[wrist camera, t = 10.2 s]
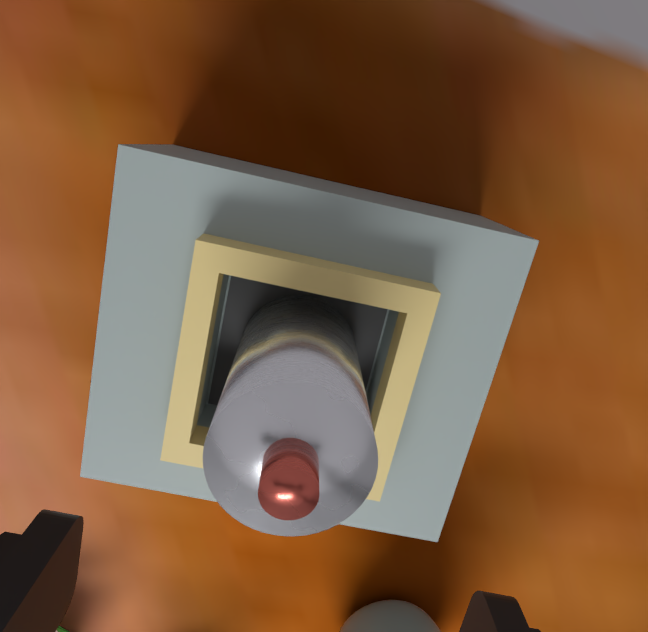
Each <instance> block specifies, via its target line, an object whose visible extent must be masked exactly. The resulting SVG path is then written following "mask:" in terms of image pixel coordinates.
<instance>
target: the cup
mask: <svg viewBox="0 0 648 632" xmlns="http://www.w3.org/2000/svg"><path fill="white" fill-rule="evenodd" d="M339 632H441V630H440V628H439V627H438V626H437V624H436V623H435V622H434V620H433V619H432V618H431V617H430V616H429V615H428V614H427V613H426V612H425V611H423V610H422V609H421V608H420V607H418V606H416V605H414V604H412V603H410V602H406V601H402V600H393V599H391V600H381V601H377V602H373V603H371V604H368V605H365V606H364V607H362V608H360V609H358V610H357V611H356V612H354V613H353V614H352V615H351V616H349V618H348V619H347V620H346V621H345V623H344V624H343V625H342V627H341V629H340V631H339Z"/></svg>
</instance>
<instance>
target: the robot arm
mask: <svg viewBox="0 0 648 632" xmlns="http://www.w3.org/2000/svg"><path fill="white" fill-rule="evenodd" d="M82 532H83V517H82V516H77V515H72V514H66V513H61V512H56V511H50V510H42V511H41V512H39V514H38V515H37V516H36V517H35V519H34V520H33V521H32V522H31V524H30V525H29V526H28V528H27V529H26V530H25V532H24V533H23V534H22V535H20V534H15V533H9V532H4V533H2V534H1V535H0V632H56V630H57V628H58V626H59V624H60V623H61V621H62V619H63V617H64V615H65V613H66V611H67V609H68V607H69V604H70V601H71V599H72V596H73V592H74V589H75V585H76V580H77V573H78V565H79V556H80V548H81V540H82ZM459 632H541V631H540V630H539V629H534V628H529V626H528V624H527V622H526V619H525V617H524V615H523V612H522V610H521V608H520V606H519V603H518V602H517V600H516V599H515V598H514V597H511V596H505V595H500V594H494V593H489V592H483V591H476V592H475V593H474V594H473V596H472V598H471V601H470V603H469V606H468V609H467V612H466V614H465V617H464V620H463V623H462V625H461V628H460V631H459Z"/></svg>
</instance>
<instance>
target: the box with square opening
mask: <svg viewBox="0 0 648 632" xmlns="http://www.w3.org/2000/svg"><path fill="white" fill-rule="evenodd" d="M538 242H539V241H538V240H536V239H534V238H531V237H529V236H527V235H524V234H522V233H520V232H517V231H515V230H513V229H510V228H508V227H506V226H503V225H501V224H499V223H496V222H494V221H492V220H489V219H487V218H485V217H482V216H480V215H476V214H471V213H467V212H463V211H458V210H454V209H450V208H445V207H441V206H437V205H432V204H428V203H424V202H419V201H415V200H411V199H406V198H402V197H398V196H393V195H389V194H385V193H380V192H376V191H372V190H367V189H363V188H359V187H354V186H350V185H346V184H341V183H337V182H333V181H328V180H324V179H320V178H315V177H311V176H307V175H302V174H298V173H294V172H289V171H285V170H281V169H276V168H272V167H268V166H263V165H259V164H255V163H250V162H246V161H242V160H237V159H233V158H229V157H224V156H220V155H216V154H211V153H207V152H203V151H198V150H194V149H190V148H185V147H181V146H177V145H149V144H118V152H117V161H116V169H115V178H114V187H113V195H112V204H111V213H110V222H109V230H108V239H107V248H106V256H105V265H104V274H103V282H102V291H101V300H100V308H99V317H98V326H97V335H96V343H95V352H94V361H93V369H92V378H91V387H90V395H89V404H88V413H87V422H86V430H85V439H84V448H83V456H82V465H81V474H80V477H85V478H90V479H96V480H101V481H107V482H112V483H118V484H123V485H129V486H134V487H140V488H145V489H150V490H156V491H161V492H167V493H172V494H178V495H183V496H189V497H194V498H199V499H205V500H210V501H216V502H217V500H216V499H215V498H214V496H213V494H212V492H211V491H210V489H209V487H208V484H207V481H206V478H205V474H204V469H203V448H204V443H205V439H206V436H207V433H208V430H209V428H210V425H211V422H212V419H213V416H214V414H215V411H216V408H217V405H218V402H219V400H220V397H221V394H222V391H223V388H224V386H225V383H226V380H227V377H228V374H229V372H230V369H231V366H232V363H233V360H234V358H235V355H236V352H237V349H238V347H239V344H240V341H241V338H242V335H243V333H244V330H245V328H246V325H247V324H248V322H249V320H250V319H251V318H252V316H253V315H254V314H255V313H256V312H257V311H258V310H259V309H260V308H262V307H263V306H264V305H266V304H267V303H269V302H271V301H273V300H276V299H278V298H282V297H286V296H293V295H303V296H310V297H314V298H318V299H320V300H322V301H325V302H326V303H328V304H330V305H331V306H333V307H334V308H335V309H337V310H338V311H339V312H340V313H341V314H342V315H343V317H344V318H345V319H346V321H347V322H348V324H349V326H350V328H351V330H352V333H353V336H354V340H355V345H356V350H357V354H358V359H359V364H360V369H361V373H362V378H363V383H364V388H365V392H366V397H367V402H368V406H369V411H370V416H371V421H372V425H373V430H374V435H375V440H376V444H377V450H378V470H377V474H376V479H375V482H374V484H373V487H372V489H371V491H370V493H369V495H368V497H367V498H366V499H365V501H364V502H363V504H362V505H361V506H360V507H359V508H358V509H357V510H356V511H355V512H354V513H353V514H352V515H351V516H349V517H348V518H347V519H345V520H344V521H342V522H341V523H339V524H341V525H347V526H352V527H357V528H363V529H368V530H374V531H379V532H385V533H390V534H396V535H401V536H407V537H412V538H417V539H423V540H428V541H434V542H438V540H439V537H440V534H441V531H442V528H443V525H444V522H445V519H446V516H447V513H448V510H449V507H450V504H451V501H452V498H453V495H454V492H455V489H456V486H457V483H458V480H459V477H460V474H461V471H462V468H463V465H464V462H465V459H466V456H467V453H468V450H469V447H470V444H471V442H472V439H473V436H474V433H475V430H476V427H477V424H478V421H479V418H480V415H481V412H482V409H483V406H484V403H485V400H486V397H487V394H488V391H489V388H490V385H491V382H492V379H493V376H494V373H495V370H496V367H497V364H498V361H499V358H500V355H501V352H502V349H503V346H504V343H505V341H506V338H507V335H508V332H509V329H510V326H511V323H512V320H513V317H514V314H515V311H516V308H517V305H518V302H519V299H520V296H521V293H522V290H523V287H524V284H525V281H526V278H527V275H528V272H529V269H530V266H531V263H532V260H533V257H534V254H535V251H536V248H537V245H538Z"/></svg>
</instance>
